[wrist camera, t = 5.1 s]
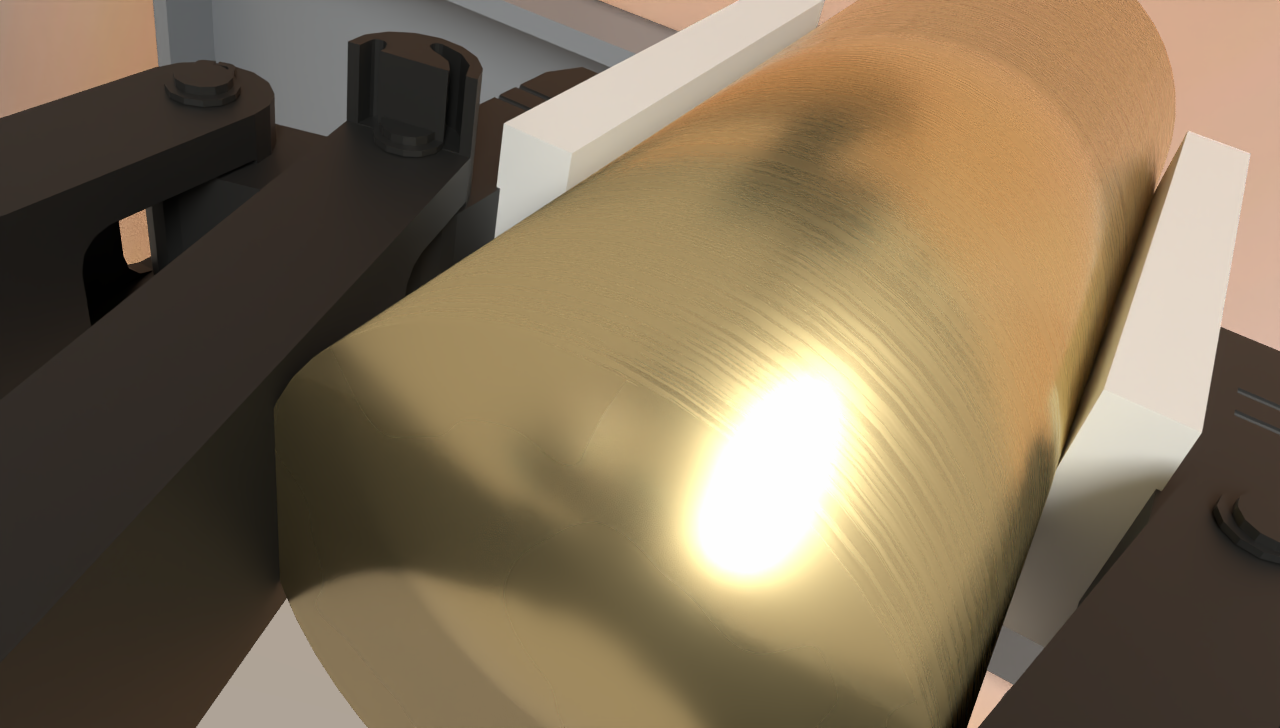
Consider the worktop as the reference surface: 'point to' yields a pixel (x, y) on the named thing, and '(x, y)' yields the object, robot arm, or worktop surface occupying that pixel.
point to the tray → (372, 3)
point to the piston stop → (740, 394)
